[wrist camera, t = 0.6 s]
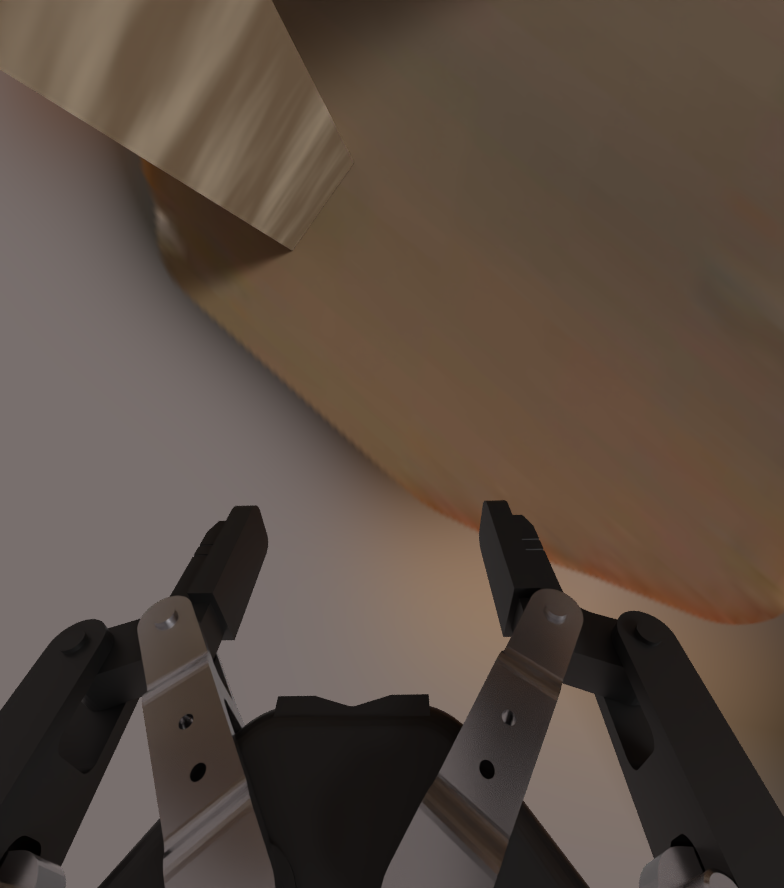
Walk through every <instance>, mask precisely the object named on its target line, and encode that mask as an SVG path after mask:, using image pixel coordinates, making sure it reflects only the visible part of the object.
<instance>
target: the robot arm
mask: <svg viewBox="0 0 784 888" xmlns="http://www.w3.org/2000/svg"><path fill="white" fill-rule="evenodd" d="M479 541H480V548H481V553H482V556H483V560H484V564H485V568H486V572H487V576H488V580H489V583H490V587H491V591H492V595H493V599H494V603H495V606H496V610H497V614H498V618H499V622H500V626H501V630H502V634H503V637H511V638H510V640H509V642H508V644H507V646H506V648H505V650H504V651H501V653H500V654H499V656H498V657H497V659H496V661H495V663H494V665H493V667H492V669H491V671H490V673H489V675H488V677H487V679H486V681H485V683H484V685H483V687H482V689H481V691H480V693H479V695H478V697H477V699H476V701H475V703H474V705H473V707H472V709H471V711H470V712H469V715H468V716H467V719H466V721H465V722H464V724H462V723H460V722H459V721H458V720H456V719H455V718H454V717H452V716H451V715H449V714H448V713H446V712H444V711H442V710H439V709H437V708H434V707H431V706H429V696H428V694H422V695H389V696H386V697H383V698H380V699H377V700H373V701H370V702H367V703H364V704H361V705H357V706H347V705H343V704H340V703H337V702H333V701H330V700H327V699H323V698H320V697H317V696H281V697H278V700H277V704H276V708H275V709H274V710H271V711H269V712H266V713H264V714H262V715H260V716H259V717H257V718H255V719H254V720H252V721H251V722H249V723H248V724H247V725H244V722H243V720H242V717H241V715H240V713H239V711H238V708H237V706H236V703H235V700H234V697H233V695H232V692H231V689H230V686H229V683H228V681H227V678H226V675H225V672H224V669H223V666H222V663H221V661H220V658H219V655H218V653H217V650H218V648H219V645H220V643H221V640H235V637H236V634H237V632H238V629H239V626H240V624H241V621H242V618H243V615H244V613H245V610H246V607H247V605H248V602H249V599H250V597H251V594H252V591H253V588H254V586H255V583H256V580H257V578H258V574H259V572H260V569H261V567H262V564H263V561H264V558H265V555H266V553H267V548H268V537H267V533H266V529H265V526H264V523H263V519H262V516H261V513H260V509H259V508H258V506H235V507H234V508H233V509H232V511H231V512H230V514H229V516H228V518H227V520H226V521H219V522H218V523H217V524H215V525H214V526H213V527H212V528H211V529H210V530H209V531H208V532H207V533H206V535H205V537H204V539H203V540H202V542H201V544H200V547H198V549H197V550H196V552H195V554H194V557H192V559H191V561H190V563H189V564H188V566H187V568H186V570H185V571H184V573H183V575H182V576H181V578H180V580H179V582H178V584H177V585H176V587H175V589H174V590H173V592H172V594H171V595H170V597H168V598H165V599H162V600H160V601H159V602H157V603H155V604H154V605H153V606H151V607H150V608H149V609H148V610H147V611H146V612H145V613H144V614H143V616H142V617H141V619H138V620H135V621H131V622H128V623H125V624H121V625H118V626H115V627H111V628H107V627H106V626H105V624H104V623H103V622H102V621H100V620H96V619H90V620H85V621H81V622H79V623H76V624H74V625H72V626H71V627H68V628H67V629H65V630H64V631H62V632H61V633H60V634H59V635H58V636H56V637H55V638H54V639H53V640H52V641H51V643H50V644H49V645H48V646H47V648H46V649H45V651H44V652H43V653H42V655H41V656H40V657H39V659H38V660H37V661H36V663H35V664H34V665H33V667H32V668H31V670H30V671H29V672H28V674H27V675H26V676H25V678H24V679H23V681H22V682H21V683H20V685H19V686H18V687H17V689H16V690H15V691H14V693H13V694H12V695H11V697H10V698H9V700H8V701H7V702H6V704H5V705H4V706H3V708H2V709H1V710H0V888H65V887H66V879H65V874H64V871H63V869H62V868H61V865H62V863H63V861H64V859H65V856H66V854H67V852H68V850H69V848H70V846H71V844H72V842H73V839H74V837H75V835H76V833H77V831H78V829H79V826H80V824H81V822H82V820H83V818H84V816H85V813H86V811H87V809H88V807H89V805H90V803H91V801H92V799H93V796H94V794H95V792H96V790H97V788H98V786H99V784H100V781H101V779H102V777H103V775H104V773H105V771H106V768H107V766H108V764H109V762H110V760H111V758H112V756H113V754H114V751H115V749H116V747H117V745H118V743H119V741H120V739H121V736H122V734H123V732H124V730H125V728H126V725H127V723H128V721H129V719H130V717H131V715H132V713H133V711H134V708H135V706H136V704H137V702H138V700H139V698H140V697H142V707H143V713H144V720H145V726H146V732H147V739H148V745H149V751H150V757H151V764H152V770H153V776H154V783H155V789H156V795H157V802H158V808H159V814H160V819H159V820H158V821H157V822H156V823H155V824H154V825H153V826H152V827H151V829H150V830H149V831H148V832H147V833H146V834H145V835H144V836H143V838H142V839H141V840H140V841H139V842H138V843H137V844H136V846H135V847H134V848H133V849H132V850H131V851H130V852H129V853H128V854H127V855H126V857H125V858H124V859H123V860H122V861H121V862H120V863H119V865H118V866H117V867H116V868H115V869H114V870H113V871H112V872H111V873H110V875H109V876H108V877H107V878H106V879H105V880H104V881H103V882H102V883H101V885H100V886H99V887H98V888H590V887H589V886H588V885H587V883H586V882H585V881H584V880H583V878H582V877H581V876H580V874H579V873H578V872H577V871H576V869H575V868H574V866H573V865H572V864H571V863H570V861H569V860H568V859H567V857H566V856H565V855H564V853H563V852H562V851H561V849H560V848H559V847H558V846H557V844H556V843H555V842H554V840H553V839H552V838H551V836H550V835H549V834H548V833H547V831H546V830H545V829H544V827H543V826H542V825H541V823H540V822H539V821H538V820H537V818H536V817H535V815H534V814H533V813H532V812H531V810H530V809H529V808H528V806H527V805H526V804H525V802H524V801H523V798H524V795H525V793H526V790H527V787H528V784H529V781H530V778H531V775H532V772H533V769H534V766H535V764H536V760H537V758H538V755H539V752H540V749H541V746H542V743H543V740H544V737H545V735H546V732H547V729H548V726H549V723H550V720H551V717H552V714H553V711H554V708H555V706H556V702H557V700H558V697H559V694H560V690H561V685H562V683H563V684H566V685H570V686H573V687H576V688H579V689H582V690H585V691H588V692H591V693H594V694H595V697H596V699H597V702H598V705H599V707H600V710H601V713H602V716H603V718H604V721H605V724H606V727H607V729H608V733H609V735H610V738H611V741H612V744H613V746H614V749H615V752H616V755H617V757H618V760H619V763H620V766H621V768H622V771H623V774H624V777H625V779H626V782H627V785H628V788H629V791H630V793H631V796H632V799H633V802H634V804H635V807H636V810H637V813H638V816H639V818H640V821H641V823H642V827H643V829H644V832H645V835H646V838H647V840H648V843H649V846H650V849H651V851H652V854H653V857H654V859H653V860H652V861H651V862H649V863H648V864H646V866H645V867H644V868H643V871H642V873H641V876H640V880H639V888H784V816H783V815H782V813H781V811H780V810H779V808H778V806H777V805H776V803H775V801H774V800H773V798H772V796H771V795H770V793H769V791H768V790H767V788H766V787H765V785H764V783H763V781H762V780H761V778H760V776H759V775H758V773H757V771H756V770H755V768H754V766H753V765H752V763H751V761H750V760H749V758H748V756H747V755H746V753H745V751H744V750H743V748H742V747H741V745H740V744H739V741H738V740H737V738H736V736H735V735H734V733H733V732H732V730H731V728H730V726H729V725H728V723H727V721H726V720H725V718H724V716H723V715H722V713H721V711H720V710H719V708H718V707H717V705H716V703H715V701H714V700H713V698H712V696H711V695H710V693H709V691H708V690H707V688H706V686H705V685H704V683H703V682H702V680H701V678H700V676H699V675H698V673H697V671H696V670H695V668H694V666H693V665H692V663H691V662H690V660H689V658H688V657H687V655H686V653H685V651H684V650H683V648H682V646H681V645H680V643H679V641H678V640H677V638H676V636H675V635H674V634H673V632H672V631H671V630H670V629H669V628H668V627H667V626H666V625H665V624H664V623H663V622H661V621H660V620H658V619H657V618H655V617H653V616H651V615H649V614H646V613H643V612H639V611H628V612H625V613H623V614H622V615H620V617H619V618H618V620H617V619H613V618H609V617H605V616H602V615H598V614H595V613H591V612H588V611H586V610H584V609H582V608H580V607H579V606H578V605H577V603H576V602H575V601H574V600H573V599H572V598H571V597H570V596H568V595H567V594H565V593H564V592H563V591H562V589H561V587H560V585H559V582H558V580H557V578H556V576H555V573H554V571H553V569H552V567H551V564H550V562H549V560H548V558H547V555H546V553H545V551H543V546H542V544H541V542H540V540H539V537H538V535H537V533H536V531H535V529H534V526H533V525H532V524H531V523H530V522H529V521H528V520H527V519H526V518H525V517H524V516H523V515H512V513H511V510H510V508H509V505H508V503H507V501H505V500H500V501H484V503H483V508H482V516H481V523H480V531H479Z"/></svg>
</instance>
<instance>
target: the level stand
mask: <svg viewBox="0 0 784 888" xmlns="http://www.w3.org/2000/svg"><path fill="white" fill-rule="evenodd" d="M0 70H1V71H3V72H4V73H6V74H8V75H9V76H11V77H13V78H14V79H16V80H17V81H19V82H21V83H22V84H24V85H26V86H27V87H29V88H30V89H32V90H34V91H35V92H37V93H38V94H40V95H42V96H43V97H45V98H46V99H48V100H50V101H51V102H53V103H55V104H56V105H58V106H59V107H61V108H63V109H64V110H66V111H67V112H69V113H71V114H72V115H74V116H75V117H77V118H79V119H80V120H82V121H84V122H85V123H87V124H89V125H90V126H92V127H93V128H95V129H97V130H98V131H100V132H102V133H103V134H105V135H106V136H108V137H110V138H111V139H113V140H114V141H116V142H117V143H119V144H121V145H122V146H124V147H126V148H128V149H129V150H130V151H132V152H134V153H135V154H137V155H138V156H140V157H142V158H143V159H145V160H147V161H148V162H150V163H151V164H153V165H155V166H156V167H158V168H159V169H161V170H163V171H164V172H166V173H167V174H169V175H171V176H172V177H174V178H176V179H177V180H179V181H180V182H182V183H184V184H185V185H187V186H188V187H190V188H192V189H193V190H195V191H197V192H198V193H200V194H201V195H203V196H205V197H206V198H208V199H209V200H211V201H213V202H214V203H216V204H218V205H219V206H221V207H222V208H224V209H226V210H227V211H229V212H230V213H232V214H234V215H235V216H237V217H239V218H240V219H242V220H243V221H245V222H247V223H248V224H250V225H251V226H253V227H255V228H256V229H258V230H260V231H261V232H263V233H264V234H266V235H268V236H269V237H271V238H272V239H274V240H276V241H277V242H279V243H280V244H282V245H284V246H285V247H287V248H289V249H290V250H292V251H293V249H294V248H295V246H296V245H297V243H298V242H299V241H300V239H301V238H302V236H303V235H304V233H305V232H306V231H307V229H308V228H309V226H310V225H311V223H312V222H313V221H314V219H315V218H316V216H317V215H318V214H319V212H320V211H321V209H322V208H323V206H324V205H325V204H326V202H327V201H328V199H329V198H330V196H331V195H332V194H333V192H334V191H335V189H336V188H337V186H338V185H339V184H340V182H341V181H342V179H343V178H344V176H345V175H346V174H347V172H348V171H349V169H350V168H351V167H352V165H353V164H354V161H353V159H352V157H351V155H350V153H349V151H348V149H347V147H346V145H345V143H344V141H343V139H342V137H341V135H340V133H339V131H338V129H337V127H336V125H335V124H334V122H333V120H332V118H331V116H330V114H329V112H328V110H327V108H326V106H325V104H324V102H323V100H322V98H321V96H320V94H319V92H318V90H317V88H316V86H315V84H314V82H313V80H312V78H311V76H310V74H309V73H308V71H307V69H306V67H305V65H304V63H303V61H302V59H301V57H300V55H299V53H298V51H297V49H296V47H295V45H294V43H293V41H292V39H291V37H290V35H289V33H288V31H287V29H286V27H285V25H284V24H283V22H282V20H281V18H280V16H279V14H278V12H277V10H276V8H275V6H274V4H273V2H272V0H0Z"/></svg>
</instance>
